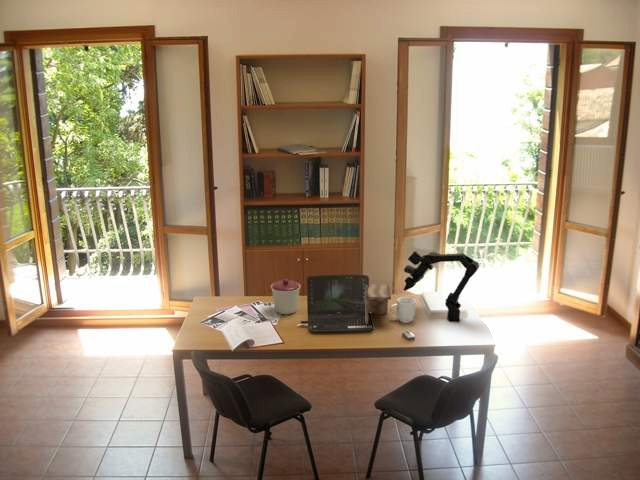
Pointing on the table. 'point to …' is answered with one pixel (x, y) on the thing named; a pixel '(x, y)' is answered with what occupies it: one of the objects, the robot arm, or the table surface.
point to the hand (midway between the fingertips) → (407, 287)
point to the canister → (285, 296)
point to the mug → (405, 309)
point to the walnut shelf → (376, 299)
